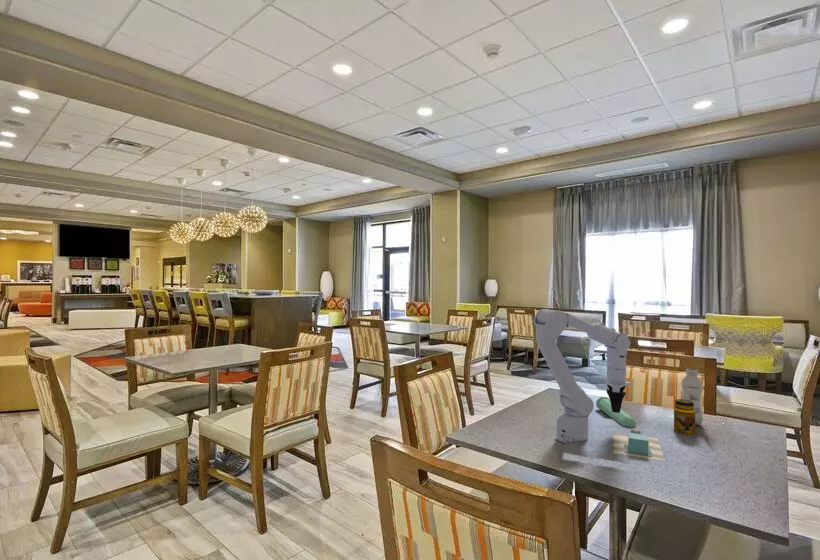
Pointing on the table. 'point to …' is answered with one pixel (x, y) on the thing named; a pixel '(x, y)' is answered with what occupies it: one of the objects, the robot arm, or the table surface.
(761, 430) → the table surface
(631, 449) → the teal slotted block
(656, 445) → the post board
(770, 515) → the table surface
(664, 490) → the table surface
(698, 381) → the plastic bottle
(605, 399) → the pale green rod
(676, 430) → the condiment
